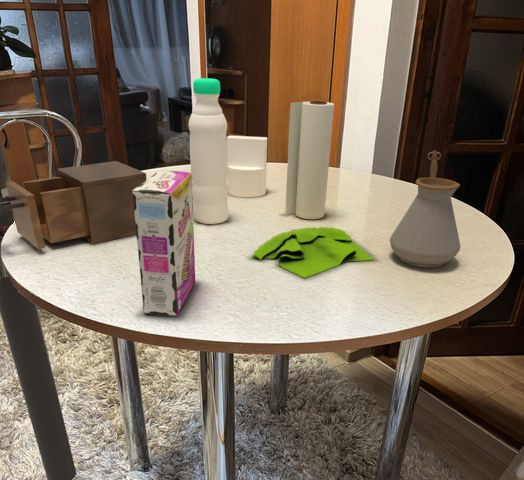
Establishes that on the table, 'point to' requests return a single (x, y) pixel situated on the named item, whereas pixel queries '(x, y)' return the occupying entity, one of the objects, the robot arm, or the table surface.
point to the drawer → (47, 210)
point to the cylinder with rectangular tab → (246, 165)
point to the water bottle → (208, 154)
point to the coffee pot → (428, 223)
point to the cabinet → (107, 198)
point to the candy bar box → (165, 241)
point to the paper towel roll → (308, 158)
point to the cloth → (311, 250)
